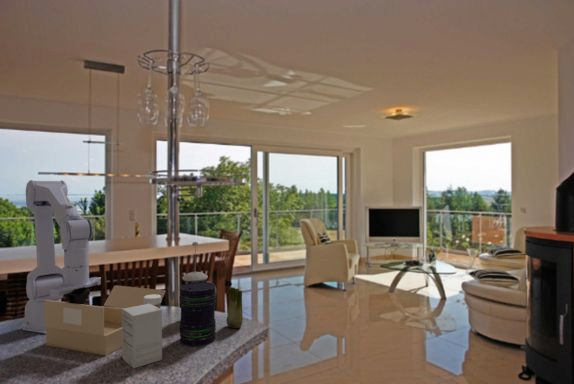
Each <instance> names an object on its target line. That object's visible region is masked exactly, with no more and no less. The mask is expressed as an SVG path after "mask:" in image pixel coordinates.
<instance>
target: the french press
mask: <svg viewBox="0 0 574 384" xmlns="http://www.w3.org/2000/svg"><path fill="white" fill-rule="evenodd" d="M191 244H192V245H191V246H192V247H194V268H196V265H197V264H196V263H197V261H196V248H197V246H199V242H198V241H193V242H192V243H191ZM208 277H209V276H208V275H207V274H206V273H204V272H200V271H196V270H194V271H191V272H188V273H186V274H185V275H184V276H181V278H182V280H183V281H184V282H202V281H203V282H204V281H205V280H207V279H208ZM206 283H212V284H214V283H213V282H212V281H211V280H207V281H206ZM215 294H216V295H217V287H216V286H215ZM180 321H181V318H180V319H178V322H179V323H180Z"/></svg>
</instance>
